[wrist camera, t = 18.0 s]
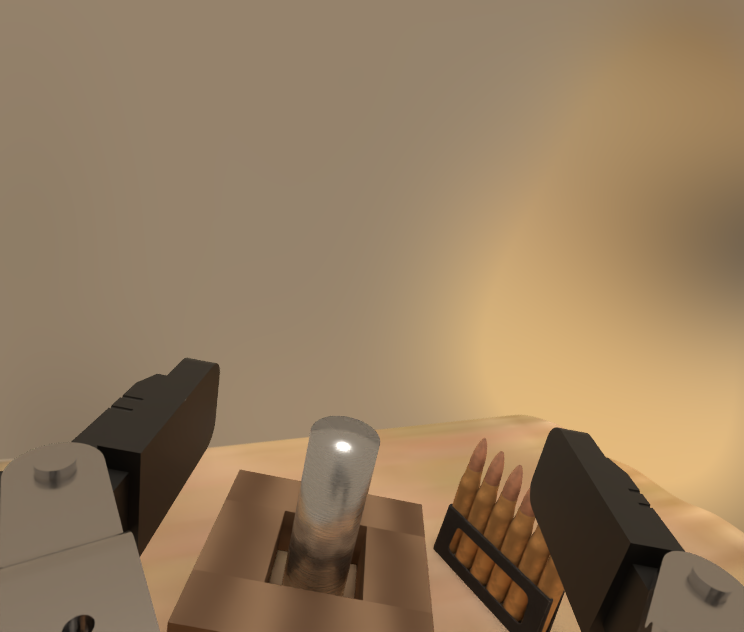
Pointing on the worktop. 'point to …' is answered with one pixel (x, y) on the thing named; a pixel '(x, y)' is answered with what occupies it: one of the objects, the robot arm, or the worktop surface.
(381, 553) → the walnut socket block
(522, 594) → the ammunition clip
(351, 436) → the steel pin
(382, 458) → the worktop surface
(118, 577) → the robot arm
